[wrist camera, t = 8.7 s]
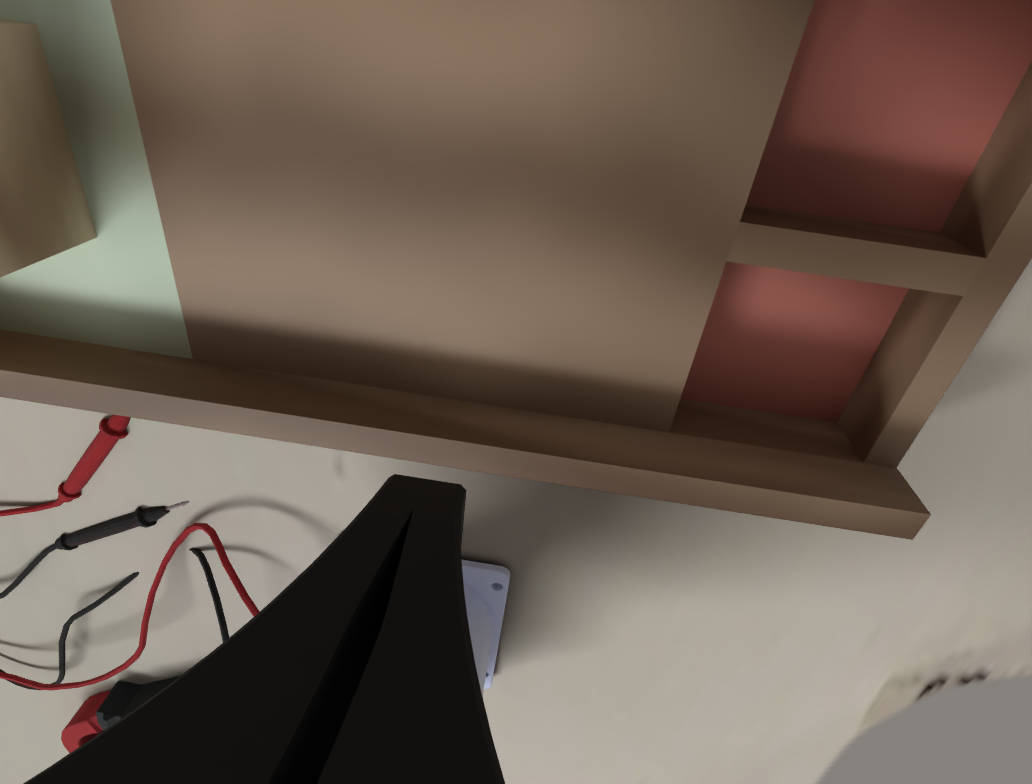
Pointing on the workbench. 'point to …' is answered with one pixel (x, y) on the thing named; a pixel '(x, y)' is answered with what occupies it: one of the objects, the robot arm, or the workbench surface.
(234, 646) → the robot arm
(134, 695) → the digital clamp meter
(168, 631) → the workbench surface
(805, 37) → the long open wooden box
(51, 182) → the block
